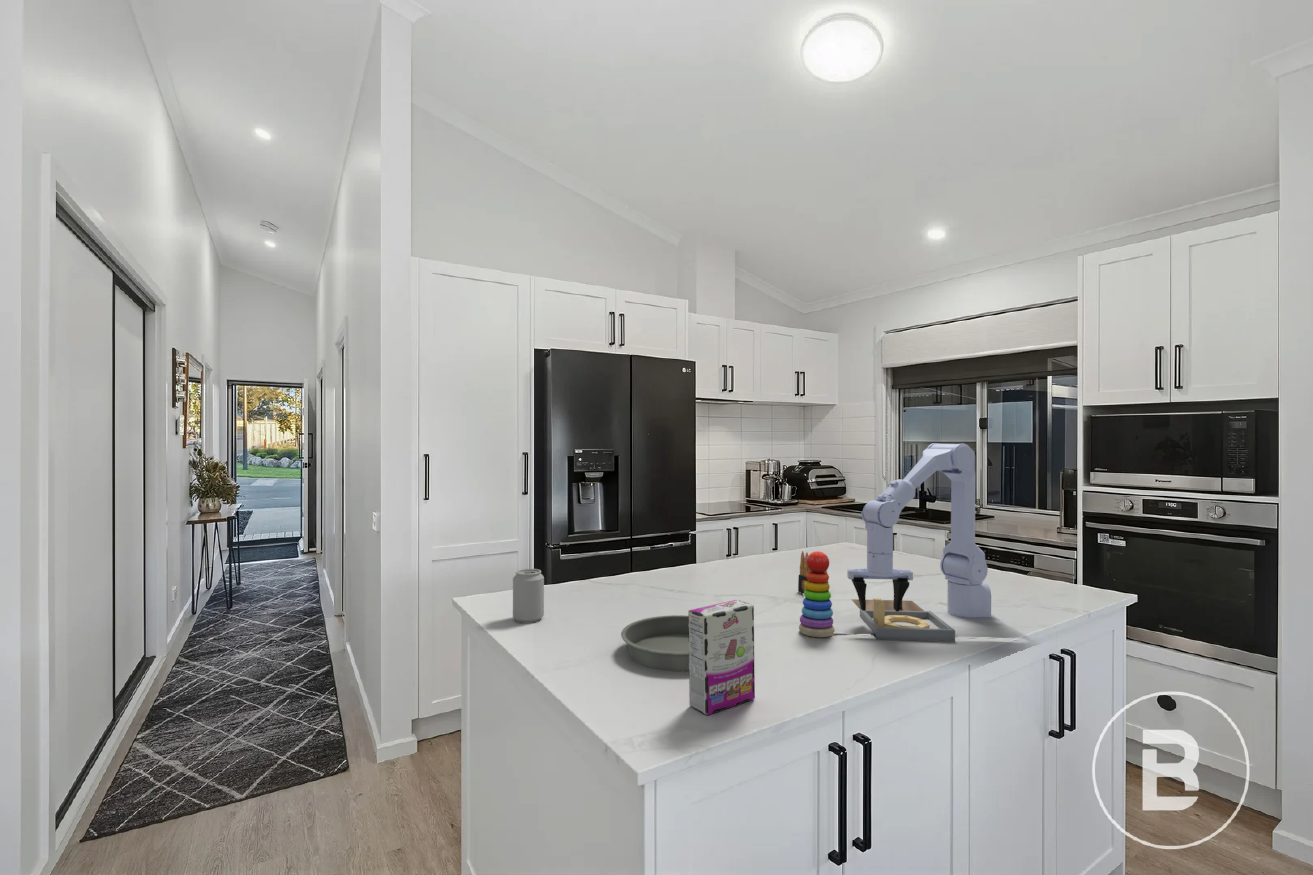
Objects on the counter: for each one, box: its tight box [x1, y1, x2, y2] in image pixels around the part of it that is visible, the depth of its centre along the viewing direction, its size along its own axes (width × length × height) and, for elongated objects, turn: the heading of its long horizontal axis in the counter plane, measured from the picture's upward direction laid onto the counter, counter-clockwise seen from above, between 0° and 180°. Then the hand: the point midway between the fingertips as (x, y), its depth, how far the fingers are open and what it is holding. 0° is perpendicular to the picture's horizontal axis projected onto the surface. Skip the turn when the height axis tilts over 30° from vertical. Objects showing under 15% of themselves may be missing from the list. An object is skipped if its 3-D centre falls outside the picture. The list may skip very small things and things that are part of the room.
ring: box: [872, 597, 931, 628], centre depth 147 cm, size 12×10×6 cm
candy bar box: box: [687, 599, 756, 716], centre depth 107 cm, size 11×5×16 cm, turn 126°
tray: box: [859, 609, 956, 643], centre depth 147 cm, size 17×15×2 cm
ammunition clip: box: [797, 550, 830, 594], centre depth 178 cm, size 11×2×12 cm, turn 28°
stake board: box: [851, 599, 925, 611], centre depth 163 cm, size 16×14×1 cm
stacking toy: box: [798, 551, 836, 638], centre depth 144 cm, size 8×8×19 cm
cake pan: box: [620, 614, 689, 672], centre depth 132 cm, size 25×25×4 cm
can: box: [512, 568, 545, 624], centre depth 155 cm, size 8×8×12 cm
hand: (879, 609), depth 147 cm, fingers open, 7 cm apart
